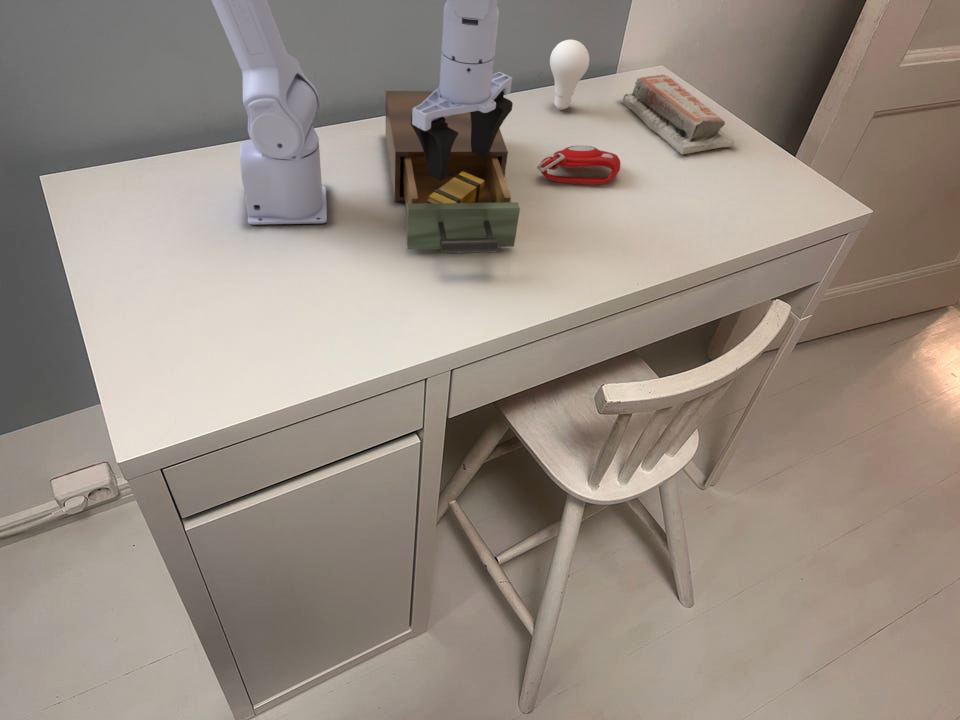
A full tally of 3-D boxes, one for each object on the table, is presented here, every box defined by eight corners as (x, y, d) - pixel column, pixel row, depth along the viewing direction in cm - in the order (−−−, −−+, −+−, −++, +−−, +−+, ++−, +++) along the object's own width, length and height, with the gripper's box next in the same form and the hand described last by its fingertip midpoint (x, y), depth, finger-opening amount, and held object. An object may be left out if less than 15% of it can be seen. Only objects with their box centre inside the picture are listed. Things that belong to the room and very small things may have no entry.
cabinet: (501, 200, 98) (508, 151, 93) (394, 202, 95) (395, 151, 90) (481, 139, 109) (486, 92, 104) (385, 138, 107) (385, 90, 101)
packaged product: (626, 74, 119) (675, 69, 122) (619, 102, 122) (667, 96, 126) (690, 127, 108) (743, 119, 111) (681, 157, 111) (732, 148, 115)
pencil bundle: (460, 193, 95) (462, 169, 92) (483, 203, 94) (485, 179, 91) (423, 221, 90) (424, 196, 87) (447, 232, 89) (449, 207, 86)
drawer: (522, 272, 86) (528, 233, 82) (411, 275, 84) (412, 235, 80) (492, 178, 100) (497, 141, 96) (396, 179, 98) (397, 140, 94)
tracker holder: (563, 139, 109) (628, 144, 105) (562, 169, 111) (626, 175, 107) (531, 154, 100) (600, 160, 95) (530, 186, 102) (598, 194, 98)
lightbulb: (539, 99, 120) (550, 32, 112) (575, 101, 121) (588, 34, 113) (545, 117, 116) (557, 48, 108) (582, 118, 117) (596, 50, 109)
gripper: (449, 85, 72) (441, 201, 82) (538, 48, 80) (521, 158, 90) (399, 60, 75) (397, 175, 84) (490, 27, 83) (479, 136, 93)
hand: (458, 165), depth 87 cm, fingers open, 7 cm apart
